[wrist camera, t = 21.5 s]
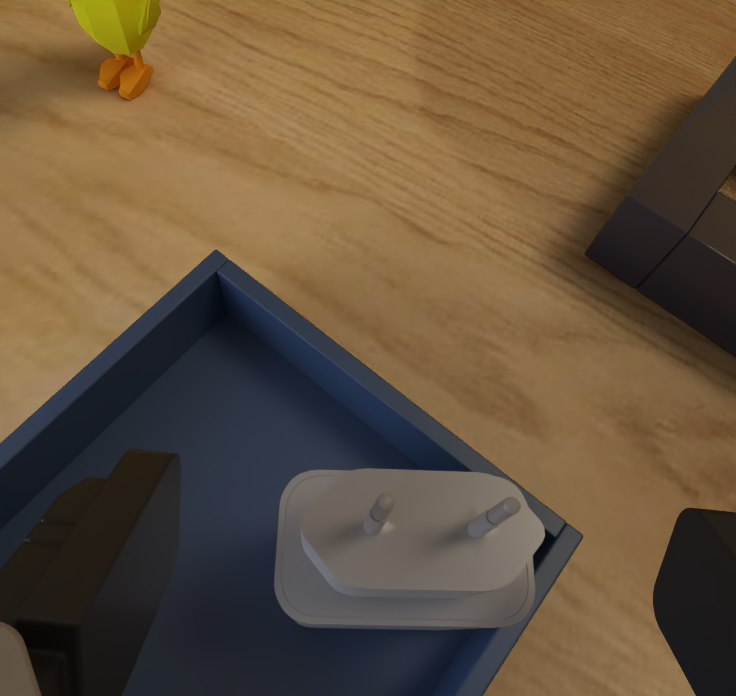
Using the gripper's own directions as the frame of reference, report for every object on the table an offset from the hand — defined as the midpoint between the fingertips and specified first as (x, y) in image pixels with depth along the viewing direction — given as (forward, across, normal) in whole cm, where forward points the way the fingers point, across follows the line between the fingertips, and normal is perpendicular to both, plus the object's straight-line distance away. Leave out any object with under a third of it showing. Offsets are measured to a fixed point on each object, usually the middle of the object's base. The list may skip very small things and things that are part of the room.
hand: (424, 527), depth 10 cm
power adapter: (+8, 0, +8) cm, 11 cm away
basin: (+8, +4, +8) cm, 12 cm away
